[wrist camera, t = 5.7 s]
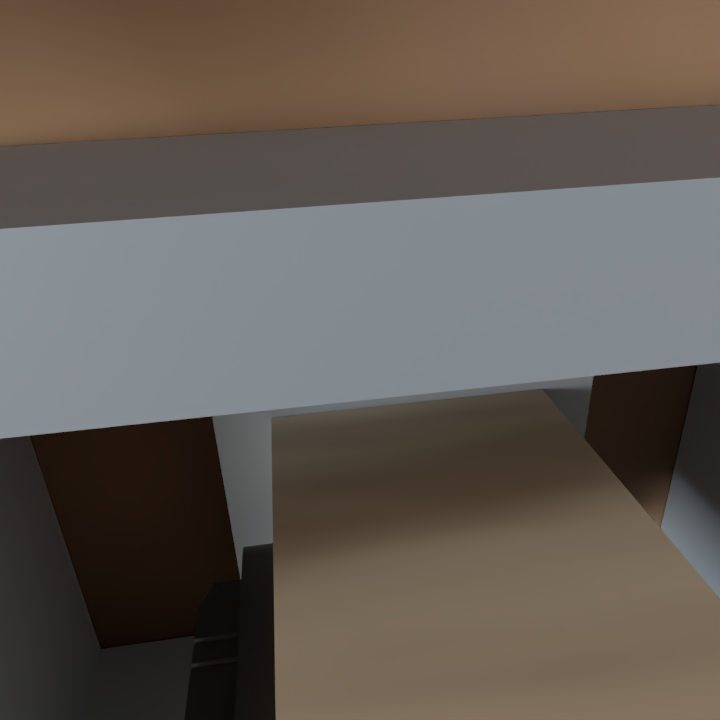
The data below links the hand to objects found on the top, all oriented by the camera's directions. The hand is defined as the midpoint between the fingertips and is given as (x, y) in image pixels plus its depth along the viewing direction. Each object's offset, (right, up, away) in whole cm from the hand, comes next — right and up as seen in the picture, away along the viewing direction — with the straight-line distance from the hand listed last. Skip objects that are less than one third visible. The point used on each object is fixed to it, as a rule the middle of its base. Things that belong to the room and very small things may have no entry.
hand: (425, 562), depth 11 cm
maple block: (0, +1, +1) cm, 1 cm away
